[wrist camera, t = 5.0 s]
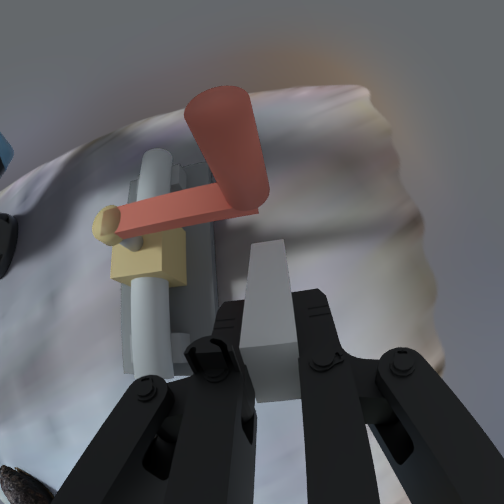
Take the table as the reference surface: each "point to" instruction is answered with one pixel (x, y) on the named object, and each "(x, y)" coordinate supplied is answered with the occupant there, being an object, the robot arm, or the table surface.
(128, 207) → the lever
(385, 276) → the table surface
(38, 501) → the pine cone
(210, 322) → the valve base
